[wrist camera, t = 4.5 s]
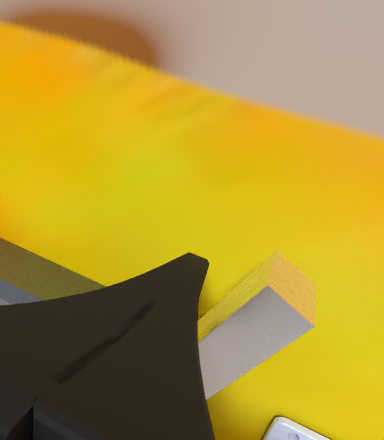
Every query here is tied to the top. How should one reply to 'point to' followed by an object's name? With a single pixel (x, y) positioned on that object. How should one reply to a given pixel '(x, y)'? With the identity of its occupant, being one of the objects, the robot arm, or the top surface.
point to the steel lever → (254, 322)
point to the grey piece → (36, 277)
